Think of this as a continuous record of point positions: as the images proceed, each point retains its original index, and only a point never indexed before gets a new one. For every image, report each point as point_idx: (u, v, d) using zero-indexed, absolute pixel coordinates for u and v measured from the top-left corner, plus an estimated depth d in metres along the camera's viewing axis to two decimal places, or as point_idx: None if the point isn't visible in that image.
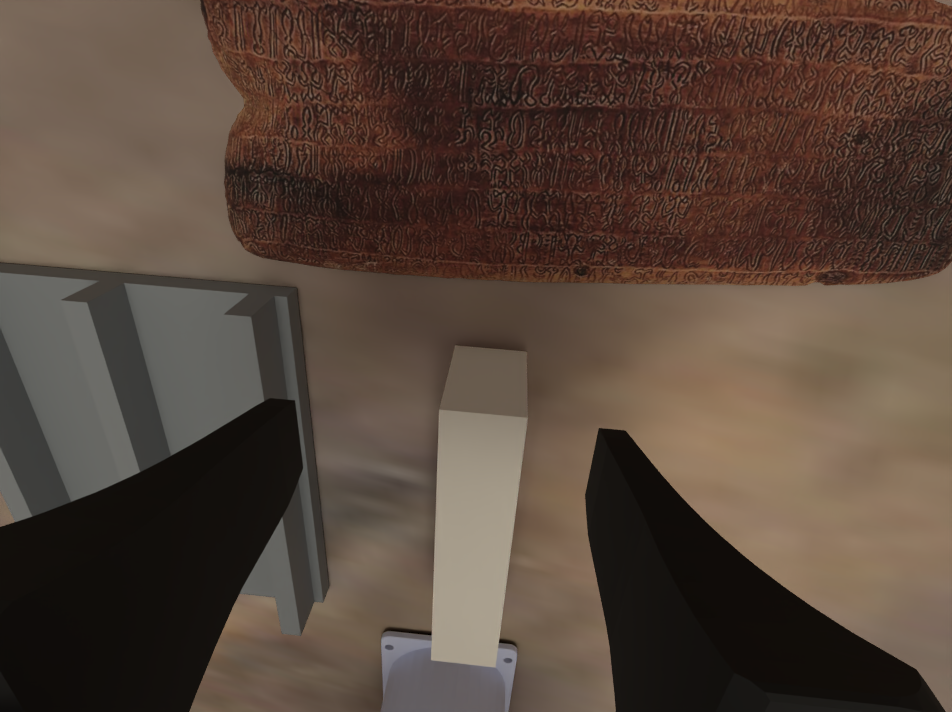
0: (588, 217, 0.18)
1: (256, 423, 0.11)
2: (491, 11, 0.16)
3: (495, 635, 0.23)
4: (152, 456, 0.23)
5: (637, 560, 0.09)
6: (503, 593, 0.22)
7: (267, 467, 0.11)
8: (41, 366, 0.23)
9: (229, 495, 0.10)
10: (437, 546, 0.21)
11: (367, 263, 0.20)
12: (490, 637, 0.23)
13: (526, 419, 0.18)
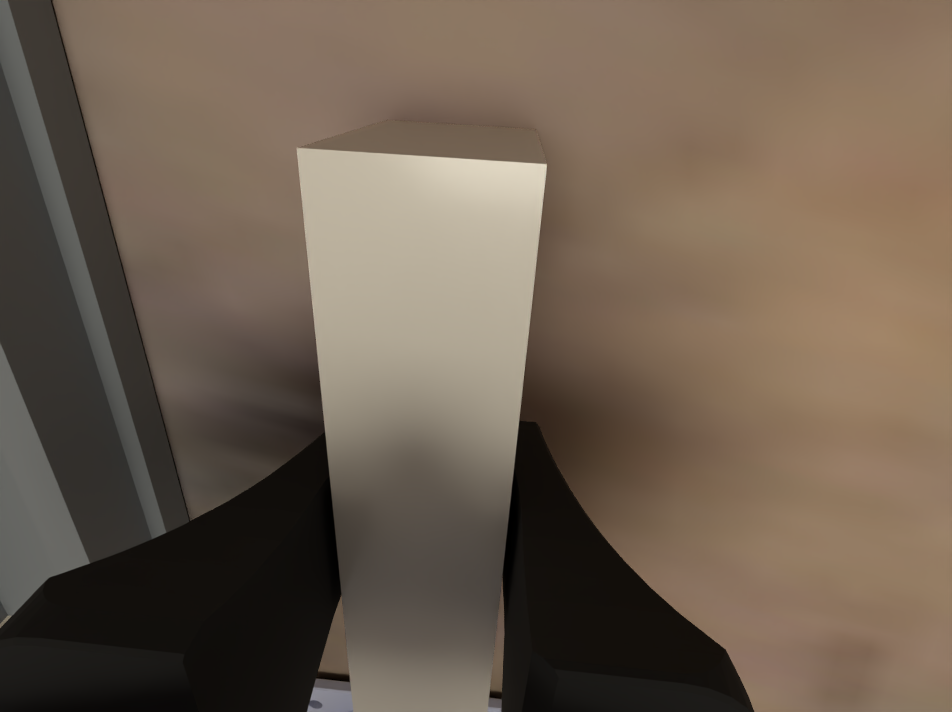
0: None
1: None
2: None
3: None
4: None
5: (516, 548, 0.09)
6: (491, 639, 0.10)
7: None
8: None
9: None
10: (342, 539, 0.09)
11: None
12: None
13: (542, 169, 0.06)
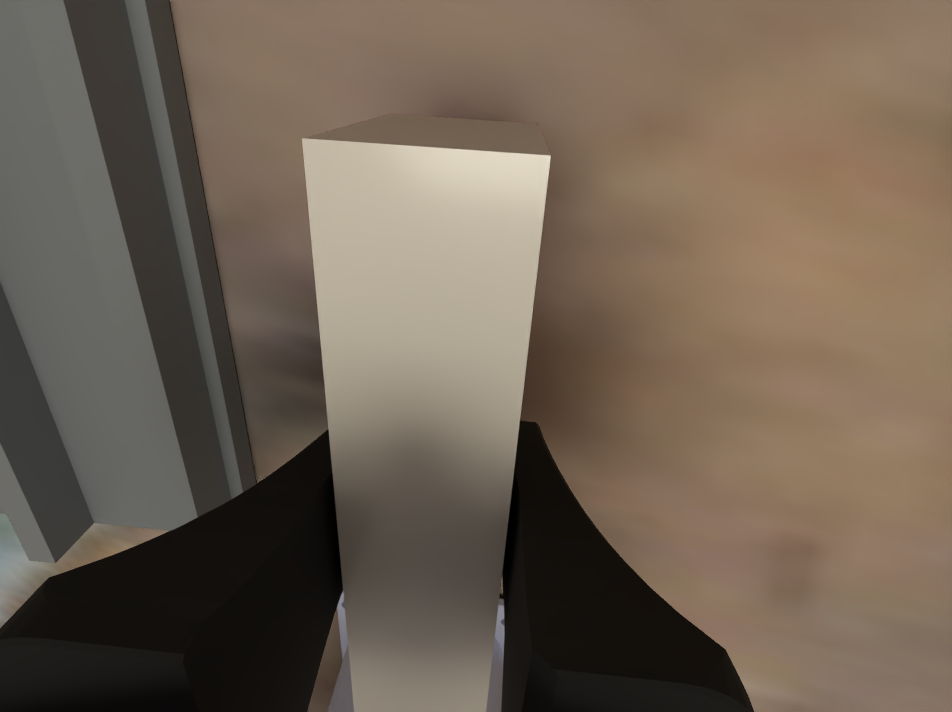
0: None
1: None
2: None
3: (477, 710, 0.12)
4: None
5: (516, 548, 0.09)
6: (491, 631, 0.10)
7: None
8: None
9: None
10: (343, 531, 0.09)
11: None
12: None
13: (546, 160, 0.06)
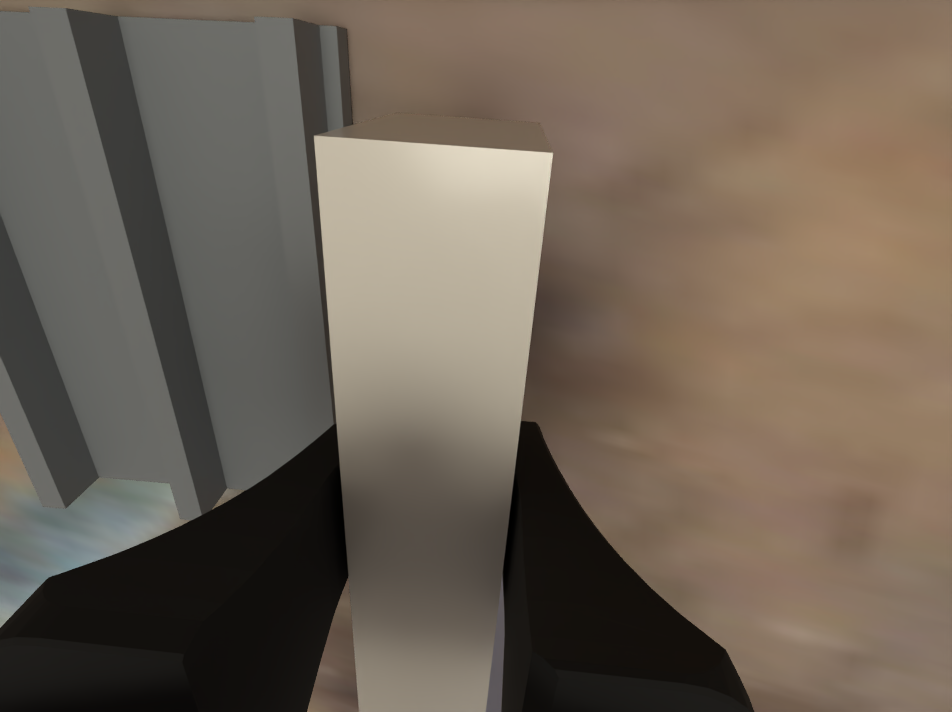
0: None
1: None
2: None
3: (478, 696, 0.12)
4: (157, 280, 0.18)
5: (516, 548, 0.09)
6: (493, 618, 0.11)
7: None
8: (13, 160, 0.18)
9: (335, 506, 0.10)
10: (350, 519, 0.10)
11: None
12: (469, 700, 0.12)
13: (549, 157, 0.07)
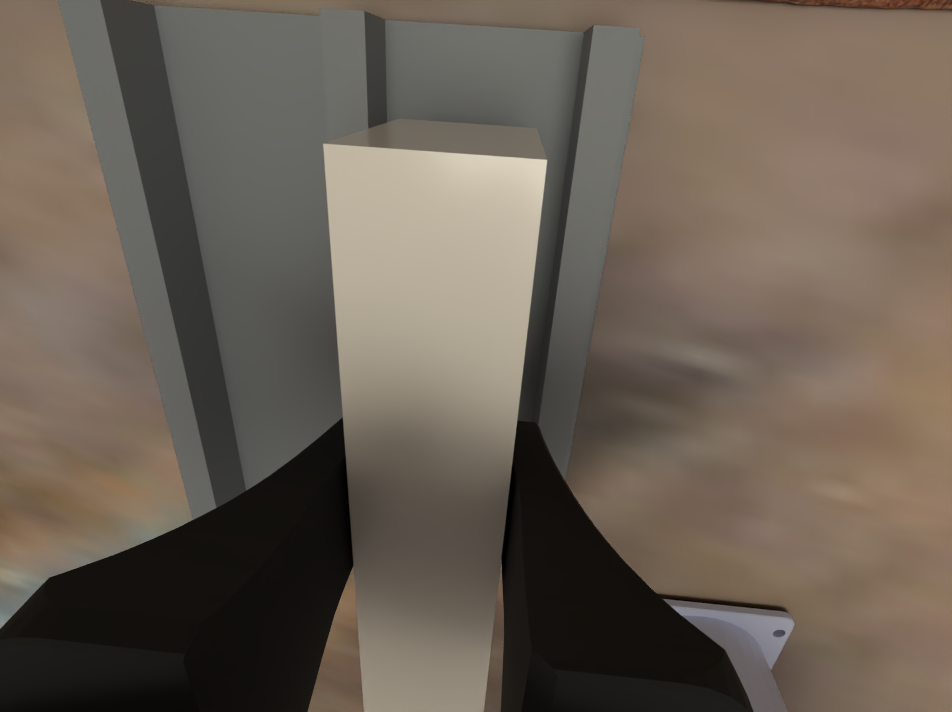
0: None
1: None
2: None
3: (478, 681, 0.12)
4: None
5: (516, 548, 0.09)
6: (492, 604, 0.11)
7: None
8: (225, 180, 0.15)
9: (336, 506, 0.10)
10: (355, 508, 0.10)
11: None
12: (470, 685, 0.13)
13: (543, 164, 0.07)
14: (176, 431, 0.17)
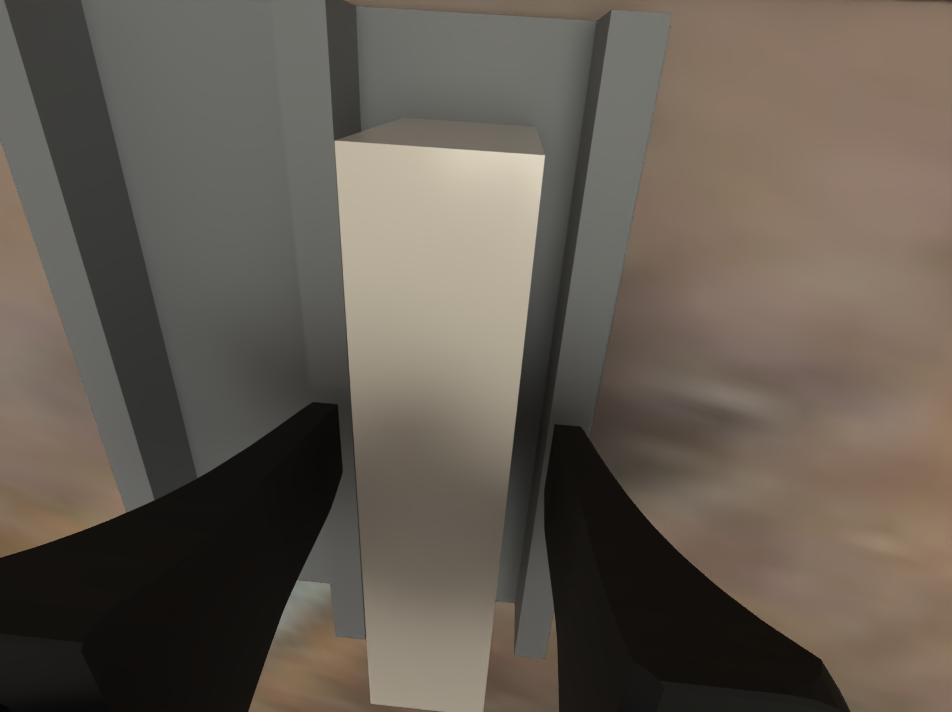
0: None
1: (304, 428, 0.11)
2: None
3: (480, 660, 0.13)
4: None
5: (577, 554, 0.09)
6: (494, 584, 0.12)
7: (314, 472, 0.11)
8: (173, 196, 0.13)
9: (282, 500, 0.10)
10: (362, 490, 0.11)
11: None
12: (472, 664, 0.13)
13: (541, 159, 0.07)
14: (124, 483, 0.15)
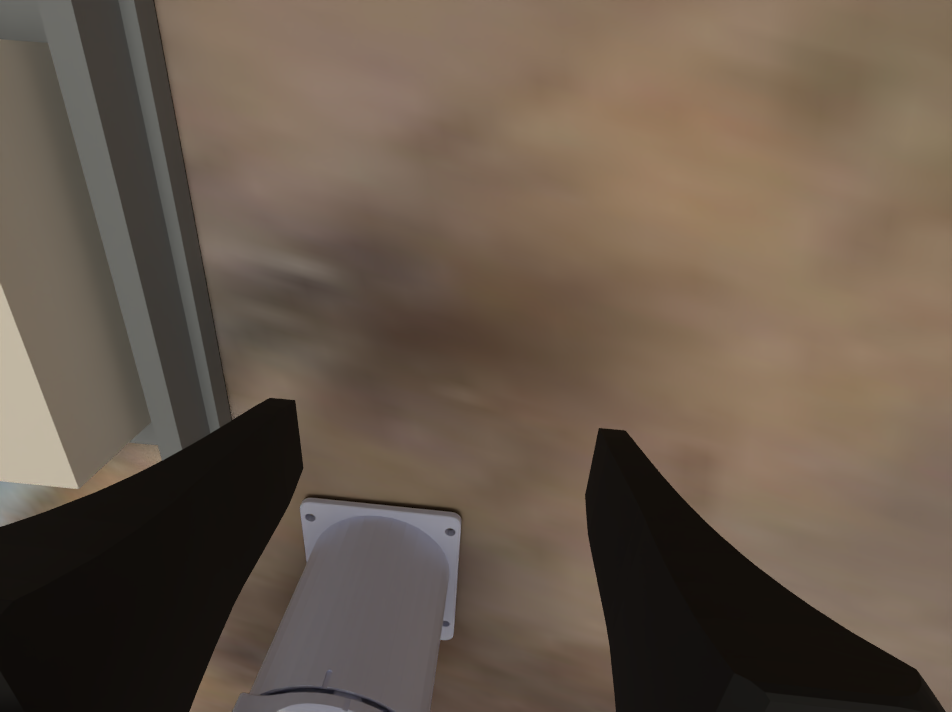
0: None
1: (256, 423, 0.11)
2: None
3: (52, 435, 0.18)
4: None
5: (637, 560, 0.09)
6: (28, 363, 0.17)
7: (267, 467, 0.11)
8: None
9: (229, 495, 0.10)
10: None
11: None
12: (49, 439, 0.18)
13: None
14: None
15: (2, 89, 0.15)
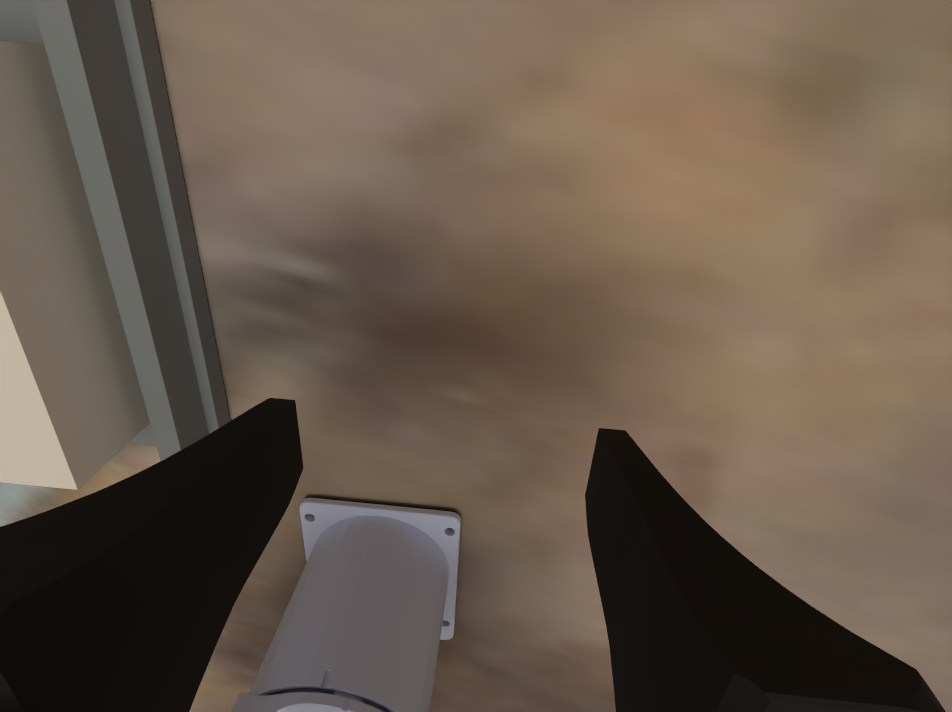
0: None
1: (256, 423, 0.11)
2: None
3: (51, 435, 0.18)
4: None
5: (637, 560, 0.09)
6: (26, 364, 0.17)
7: (267, 467, 0.11)
8: None
9: (229, 495, 0.10)
10: None
11: None
12: (48, 440, 0.18)
13: None
14: None
15: None
